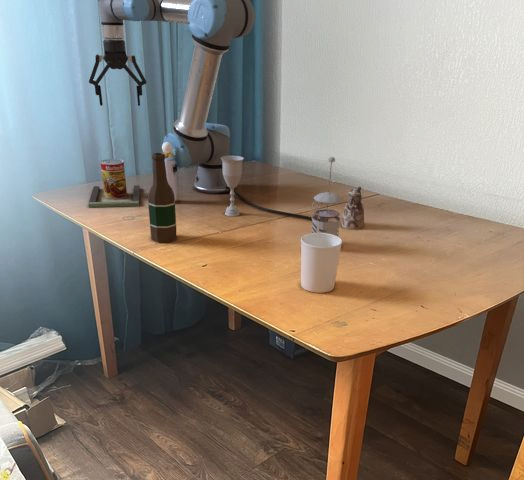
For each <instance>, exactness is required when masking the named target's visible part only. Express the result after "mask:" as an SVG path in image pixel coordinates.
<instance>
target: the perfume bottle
mask: <svg viewBox="0 0 524 480" xmlns="http://www.w3.org/2000/svg"><path fill="white" fill-rule="evenodd" d="M161 149H162V153H163V154H165V157H166V158H165V167H166V176H167V181H168V184H169V185H170V187H171V188H172V190H173V192H174V197H175V202H177V200H178V193H177V191H178V189H177V172H178V168H177V164H175V160H174V159H167V158H171V157H176V153H173V152H172V150H173V146H172V144H171V143H169V142H165V143H163V142H162V145H161Z"/></svg>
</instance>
